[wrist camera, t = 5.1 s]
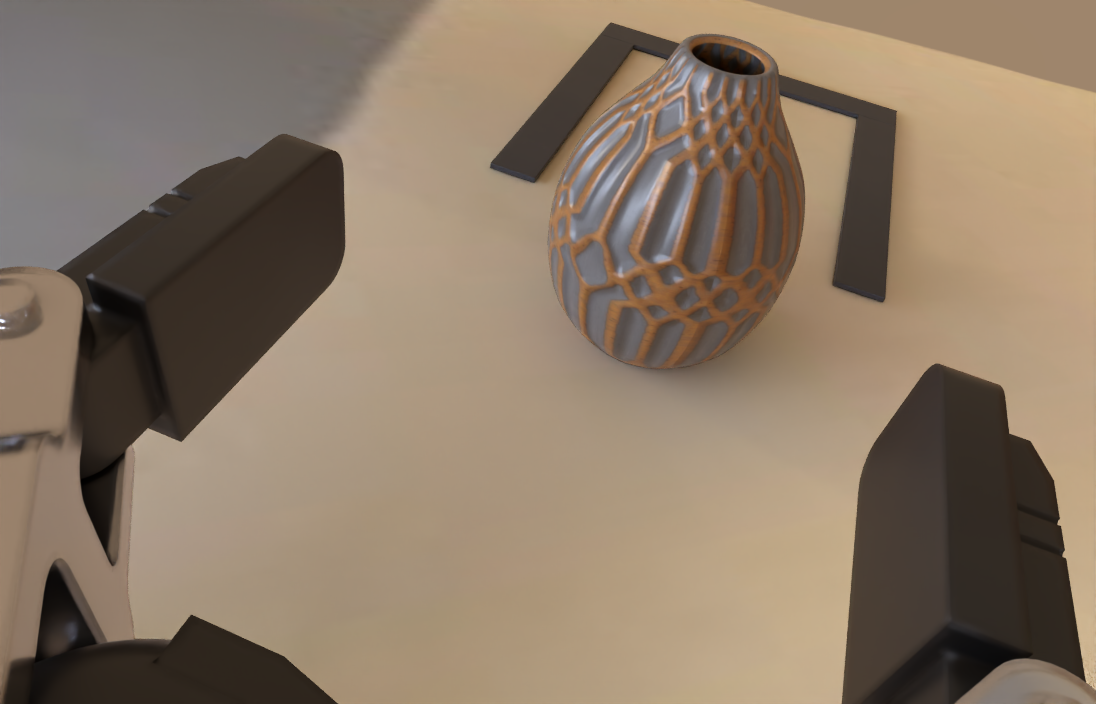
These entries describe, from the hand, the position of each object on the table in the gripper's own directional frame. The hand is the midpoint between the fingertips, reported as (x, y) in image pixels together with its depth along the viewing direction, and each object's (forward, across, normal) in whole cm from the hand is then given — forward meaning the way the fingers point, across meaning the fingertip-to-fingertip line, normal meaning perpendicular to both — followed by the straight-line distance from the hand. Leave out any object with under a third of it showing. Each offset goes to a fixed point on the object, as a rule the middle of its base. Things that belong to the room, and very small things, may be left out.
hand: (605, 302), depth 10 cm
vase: (+11, 0, +10) cm, 15 cm away
